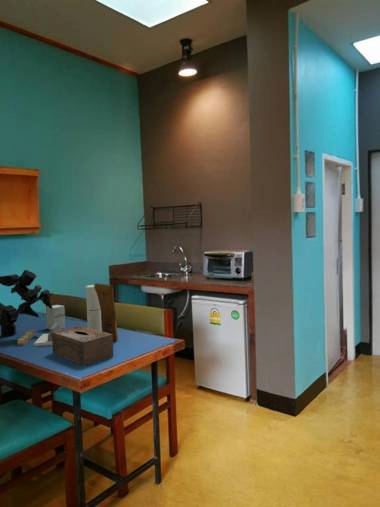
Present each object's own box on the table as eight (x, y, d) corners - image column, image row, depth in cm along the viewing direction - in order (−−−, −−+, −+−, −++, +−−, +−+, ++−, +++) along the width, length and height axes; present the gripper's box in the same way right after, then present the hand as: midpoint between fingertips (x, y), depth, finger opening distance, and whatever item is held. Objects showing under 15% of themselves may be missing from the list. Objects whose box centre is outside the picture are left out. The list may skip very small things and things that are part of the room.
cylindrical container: (98, 334, 210) (95, 287, 208) (85, 333, 211) (83, 287, 209) (103, 330, 217) (101, 285, 215) (91, 330, 218) (89, 284, 216)
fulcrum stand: (34, 346, 191) (33, 330, 191) (43, 336, 207) (42, 322, 207) (68, 344, 193) (67, 329, 193) (74, 335, 209) (73, 321, 208)
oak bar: (24, 345, 194) (23, 339, 194) (17, 346, 194) (17, 340, 193) (34, 335, 212) (34, 330, 212) (29, 335, 211) (28, 330, 211)
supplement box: (54, 330, 219) (53, 308, 218) (46, 328, 224) (45, 306, 223) (65, 327, 225) (64, 305, 224) (58, 325, 230) (56, 304, 229)
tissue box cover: (52, 353, 180) (51, 332, 179) (80, 345, 191) (79, 325, 190) (84, 366, 163) (83, 342, 162) (113, 356, 174) (112, 334, 173)
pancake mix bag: (109, 344, 191) (106, 286, 189) (95, 335, 207) (92, 282, 205) (122, 341, 195) (119, 285, 193) (107, 333, 211) (105, 280, 209)
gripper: (13, 291, 197) (35, 312, 195) (42, 275, 212) (62, 294, 210) (8, 304, 203) (29, 325, 201) (36, 288, 218) (56, 307, 216)
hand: (45, 312), depth 207 cm, fingers open, 9 cm apart
